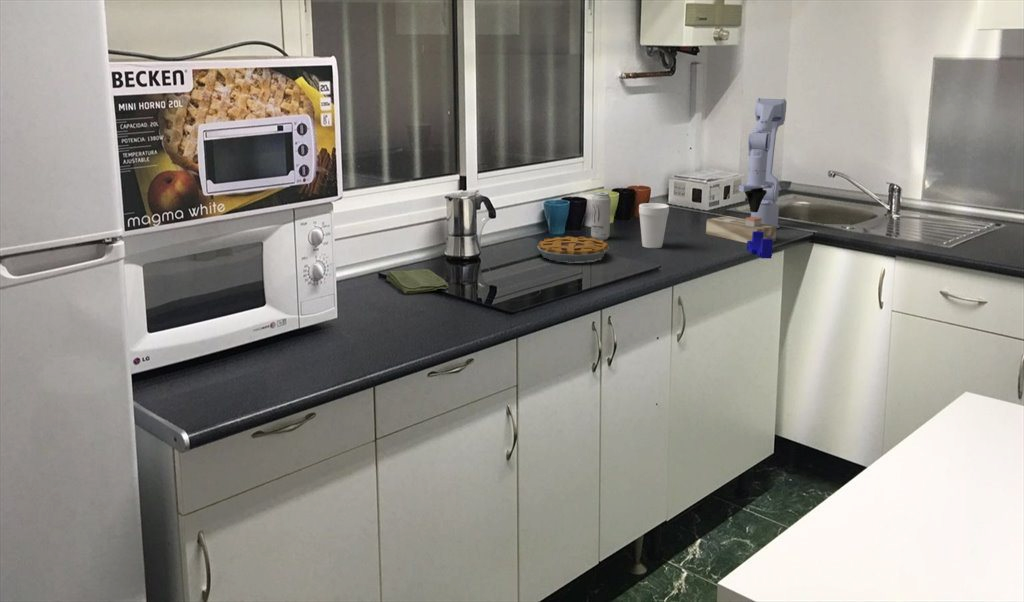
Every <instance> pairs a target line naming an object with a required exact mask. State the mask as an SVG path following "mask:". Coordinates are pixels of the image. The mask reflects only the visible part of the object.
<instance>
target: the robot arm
mask: <svg viewBox="0 0 1024 602" xmlns="http://www.w3.org/2000/svg"><path fill="white" fill-rule="evenodd" d="M754 105H755V106H754V115H755V120H756V122H755V124H754V128H753V130H752V133H750V134H749V135H748V142H747V145H748V147H747V148H748V152H747V153H748V165H747V180H746V181H747V182H746V183H742V184H739V185H738V192H742V193H744V194H745V196H746V198H747V202H748V205H749V210H750V211H749V212H750V217H757V218H762V220H761V223H764V224H769V225H774V226H777V227H776V229H780V225H778V224H779V223H778V222H779V213H780V212H779V211H780V210H779V205H778V204H777V203H776V202H777V201H778V198H779V193H780V192H779V191H780V187H779V186H780V181H779V179H778V178H777V177H776V176H774V174H773V165H774V157H775V155H774V154H775V150H776V149H775V148H776V147H775V146H776V138H777V132H778V128H779V127H781V126H783V125H784V123H785V121H786V113H787V99H785V98H782V99H781V98H779V99H778V98H760V97H758V98H757V99H756V100H755V104H754Z"/></svg>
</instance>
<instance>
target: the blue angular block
mask: <svg viewBox="0 0 1024 602" xmlns="http://www.w3.org/2000/svg"><path fill="white" fill-rule="evenodd" d="M773 243H774V241H773V239H763V232H762V231H753V234H752V241H747V243H746V251H748V252H749V254H752V255H757V256H758V257H759V258H761V259H772V255H773Z"/></svg>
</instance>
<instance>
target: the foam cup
mask: <svg viewBox="0 0 1024 602" xmlns="http://www.w3.org/2000/svg"><path fill="white" fill-rule="evenodd" d="M638 213H639V223H640V235H641V236H640V237H641V244H642V247H644V248H647V249H659V248H662V247H663V243H664V238H665V232H666V228H667V227H666V225H667V221H668V216H669V213H670V205H668V204H666V203H659V202H648V203H647V202H646V203H645V202H644V203H640V204H639V205H638Z"/></svg>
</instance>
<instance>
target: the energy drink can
mask: <svg viewBox="0 0 1024 602" xmlns="http://www.w3.org/2000/svg"><path fill="white" fill-rule="evenodd" d="M590 225H591V226H590V227H591V228H590V236H591V237H592V238H595V239H596V240H603V241H605V240H608V238H609V237H610V231H611V230H610V227H611V197H610V193H609V192H605V191H596V192H594V193H593V196H592V198H591V224H590Z"/></svg>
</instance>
